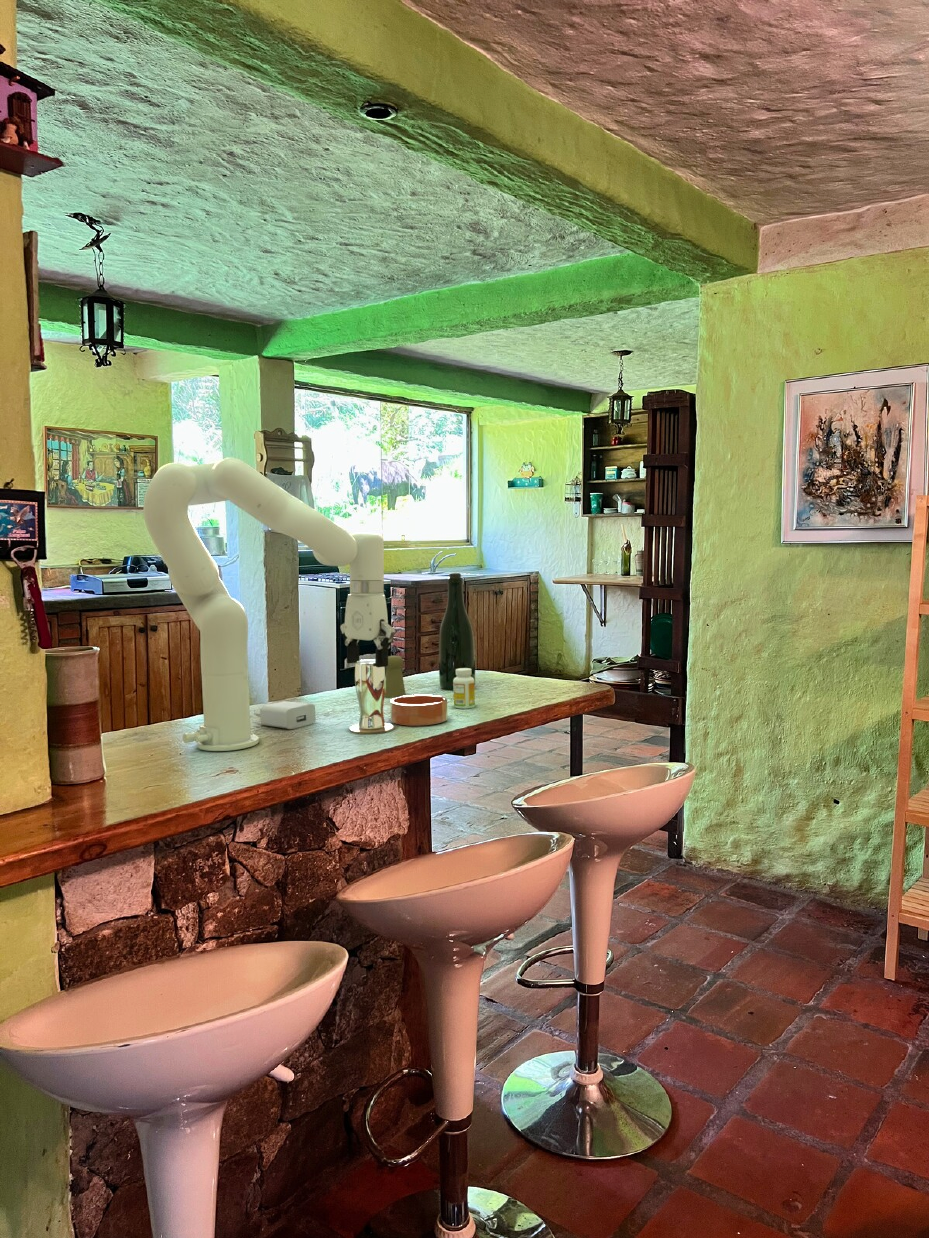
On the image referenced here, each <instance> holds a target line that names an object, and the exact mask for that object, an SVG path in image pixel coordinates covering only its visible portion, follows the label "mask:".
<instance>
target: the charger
mask: <svg viewBox="0 0 929 1238" xmlns="http://www.w3.org/2000/svg"><path fill="white" fill-rule="evenodd" d="M253 712H254V713H253V714H254V716H256V717H259V718H260V719H259V720H260V721H259V722H260V725H261V726H266V727H273V728H279V729H285V730H286V729H287V730H294V729H297V728H303V727H305V726H309V725H312V724H314V723H315V722H316V719H317V718H316V717H317V716H316V705H315V704H313V703H306V702H296V701H288V700H282V701H278V702H273V703H268V704H264V705H262V706H261V707H258V708H257V709H254V710H253Z"/></svg>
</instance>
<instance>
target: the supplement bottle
mask: <svg viewBox="0 0 929 1238" xmlns="http://www.w3.org/2000/svg"><path fill="white" fill-rule="evenodd" d="M471 673H472V672H471V669H470V668H459V669H456V675H457V677H456V678H454V680H453V689H454V690H453V707H454V708H456V709H463V710H467V709H472V708H475V706H476V692H475V691H476V690H475V687H476V683H475V684H474V678H473V677H471Z"/></svg>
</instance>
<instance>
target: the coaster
mask: <svg viewBox="0 0 929 1238" xmlns="http://www.w3.org/2000/svg"><path fill="white" fill-rule="evenodd" d="M358 725H359V723H358V724H354V725H352V726H350V727H349V732H351V733H353V734H359V735H377V734H385V733H388V732H392V731H394V730H395V725H394V724H392V723H387V722H385V727H384V728H381V729H375V730H364V729H360V728H359V727H358Z"/></svg>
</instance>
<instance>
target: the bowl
mask: <svg viewBox="0 0 929 1238" xmlns="http://www.w3.org/2000/svg"><path fill="white" fill-rule="evenodd" d="M389 705H390V721H391V723H393V724H395V725H401V726H408V727H423V726H425V727H426V726H432V725H433V726H434V725H438V724H441V723H444V722H446V721H448V719H449V717H448V716H449V715H448V698H447V697H446V696H442V695H435V694H434V695H433V694H414V695H413V694H412V695H406V696H403V697H396V698H391V699H390V704H389Z"/></svg>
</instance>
